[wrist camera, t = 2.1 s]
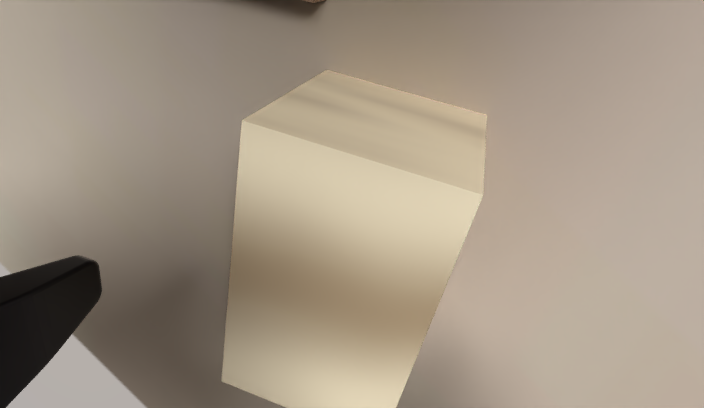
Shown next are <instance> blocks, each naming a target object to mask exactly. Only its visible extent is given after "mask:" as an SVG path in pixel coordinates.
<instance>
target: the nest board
mask: <svg viewBox="0 0 704 408" xmlns="http://www.w3.org/2000/svg"><path fill="white" fill-rule="evenodd" d="M303 1H307V2H311V3H315V2H320V1H326V0H303Z"/></svg>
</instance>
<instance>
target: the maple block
mask: <svg viewBox="0 0 704 408" xmlns="http://www.w3.org/2000/svg"><path fill="white" fill-rule="evenodd" d="M486 125H487V115H485V114H482V113H478V112H475V111H471V110H468V109H464V108H461V107H457V106H454V105H450V104H446V103H443V102H439V101H436V100H432V99H429V98H425V97H422V96H418V95H415V94H411V93H408V92H404V91H401V90H397V89H393V88H390V87H386V86H383V85H379V84H376V83H372V82H369V81H365V80H362V79H358V78H355V77H351V76H348V75H344V74H340V73H337V72H333V71H330V70H325V71H324V72H322V73H320V74H319V75H317V76H315V77H314V78H312V79H310V80H309V81H307V82H305V83H304V84H302V85H300V86H299V87H297V88H295V89H294V90H292V91H290V92H288V93H287V94H285V95H283V96H282V97H280V98H278V99H277V100H275V101H273V102H272V103H270V104H268V105H267V106H265V107H263V108H262V109H260V110H258V111H256V112H255V113H253V114H251V115H250V116H248V117H246V118H245V119H243V120H242V122H241V135H240V148H239V161H238V174H237V186H236V199H235V212H234V225H233V238H232V251H231V263H230V276H229V289H228V302H227V315H226V328H225V340H224V353H223V366H222V379H221V382H224V383H226V384H229V385H231V386H234V387H236V388H239V389H241V390H244V391H246V392H249V393H251V394H254V395H256V396H259V397H261V398H264V399H266V400H269V401H271V402H274V403H276V404H279V405H281V406H284V407H286V408H396V407H397V404H398V402H399V399H400V397H401V395H402V392H403V390H404V387H405V385H406V382H407V380H408V377H409V375H410V373H411V370H412V368H413V365H414V363H415V360H416V358H417V356H418V353H419V351H420V348H421V346H422V343H423V341H424V338H425V336H426V334H427V331H428V329H429V326H430V324H431V321H432V319H433V317H434V314H435V312H436V309H437V307H438V304H439V302H440V299H441V297H442V295H443V292H444V290H445V287H446V285H447V282H448V280H449V278H450V275H451V273H452V270H453V268H454V265H455V263H456V260H457V258H458V256H459V253H460V251H461V248H462V246H463V243H464V241H465V238H466V236H467V234H468V231H469V229H470V226H471V224H472V221H473V219H474V217H475V214H476V212H477V209H478V207H479V204H480V202H481V199H482V197H483V191H484V169H485V147H486Z"/></svg>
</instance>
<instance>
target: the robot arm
mask: <svg viewBox="0 0 704 408" xmlns="http://www.w3.org/2000/svg"><path fill="white" fill-rule="evenodd" d="M101 293H102V286H101V278H100V271H99V265H98V263H97V262H96V261H94V260H92V259H89V258H86V257H83V256H72V257H69V258H65V259H62V260H58V261H55V262H51V263H48V264H44V265H41V266H37V267H34V268H30V269H27V270H24V271H20V272H17V273H13V274H10V275H6V276H3V277H0V408H6V407H7V406H8V404H9V403H10V402H11V401H12V400H13V399H14V398H15V397H16V396H17V395H18V394H19V393H20V392H21V391H22V390H23V389H24V388H25V387H26V386H27V385H28V384H29V383H30V382H31V380H33V378H35V376H36V375H37V374H38V373H39V372H40V371H41V370H42V369H43V368H44V367H45V365H47V364H48V362H49V361H50V360H51V359H52V358H53V357H54V355H55V354H56V353H57V352H58V351H59V349H60V348H61V347H62V346H63V344H64V343H65V342H66V341H67V339H68V338H69V337H70V336H71V334H72V333H73V332H74V331H75V329H76V328H77V327H78V326H79V324H80V323H81V322H82V321H83V319H84V318H85V317H86V316H87V314H88V313H89V312H90V311H91V309H92V308H93V307H94V306H95V304H96V303H97V302H98V300H99V298H100V296H101Z"/></svg>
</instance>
